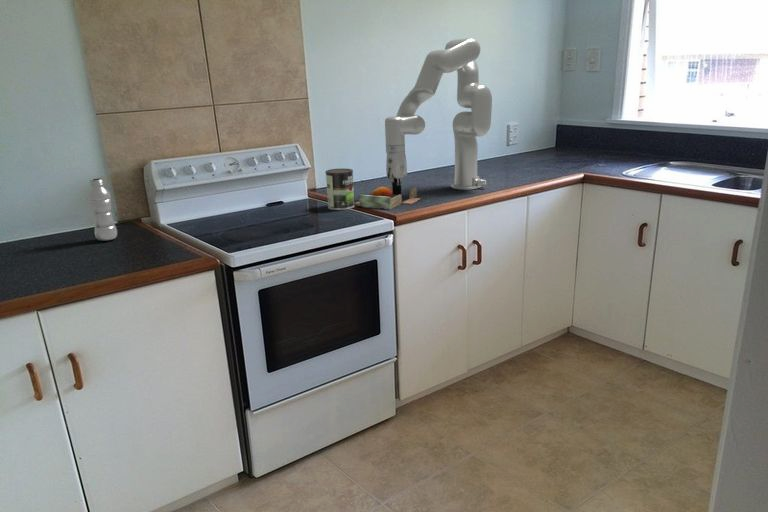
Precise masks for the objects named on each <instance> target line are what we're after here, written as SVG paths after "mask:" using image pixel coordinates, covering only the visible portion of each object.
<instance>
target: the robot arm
mask: <svg viewBox="0 0 768 512" xmlns="http://www.w3.org/2000/svg"><path fill="white" fill-rule="evenodd" d="M480 53H481V44H480V43H479V42H478V40H477V39H474V38H472V37H471V38H456V39H452V40H449V41H448V42H447V43H446V44H445V47H444V49H438V50H431V51H429V52H428V54H427V55H426V57H425V59H424V62H423V64H422V66H421V70H420V72H419V74H418V77H417V79H416V82H415V85H414V87H412V89H411V90H410V91H409V92H408V93H407V95H406V96H405V97H404V99H403V100H402V102H401V103H400V106H399V108H398V111H397V113H396V116H395V115H394V116H387V117H386V118H385V119H384V130H385V131H384V132H385V133H384V135H385V153H386V162H385V163H386V165H385V167H386V168H385V170H386V171H385V172H386V177H387V179H388V182H389V183H391V187H392V189H391V191H392V196H397V195H402V184H403V183H402V182H403V181H402V180H403V178H404V177H406V176H407V175H408V166H407V165H408V164H407V156H406V140H405V138H406V137H405V136H406V135H410V136H411V135H414V136H415V135H419V134H421V133H422V132H423V131H424V130H425V128H426V122H425V119H423V117H421V116H420V115H417V114H416V112H417V110H418V109H419V107H420V106H421V105H422V104H423V103H424V102H426V101H428V100H430V99H431V98H432V97H434V96H435V94H436V92H437V89H438V87H439V84H440V82H441V79H442V77H443V75H444V74H449V73H453V72H455V71H456V73H457V87H456V101H457V104H458V106H460V107H461V108H465V109H470V110H471V111H467V110H466V111H460V112H458V113H457V114H455V116H454V117H453V120H452V131H453V137H454V182H452V183H451V184H450V187H451V188H452V189H454V190H455V189H456V190H461V191H462V190H464V191H465V190H467V191H468V190H469V191H470V190H475V189H476V190H477V189H479V188H481V187H482V186H481V185H485V186H486V185H487V180H486V179H485V178H483V179H481V178H480V176H479V175H478V151H479V150H478V149H479V148H478V147H479V145H478V139H477V137H478V138H482V137H484V136H486V134H488V133H489V131H490V129H491V128H490V127H491V125H492V112H493V111H492V108H493V95H492V92H491V89H490V88H488V86H487V85H484V84H480V83H479V81H480V80H479V77H480V76H479V67H478V64H477V62H476V61H477V59H478V57H480Z"/></svg>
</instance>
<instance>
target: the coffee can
mask: <svg viewBox="0 0 768 512" xmlns="http://www.w3.org/2000/svg"><path fill="white" fill-rule="evenodd" d="M353 174H354V170H353V169H352V168H330V169H326V171H325V179H326V180H325V181H326V196H327V208H328V209H329V210H332V211H344V210H345V211H346V210H351V209H353V208H355V194H354V191H355V189H354V176H353Z"/></svg>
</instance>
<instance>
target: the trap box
mask: <svg viewBox="0 0 768 512" xmlns="http://www.w3.org/2000/svg"><path fill="white" fill-rule="evenodd" d="M385 187H387V188H389V189H391V187H392V185H387V186H385ZM391 190H392V189H391ZM408 192H409V195H408V196H409V198H408V199H410V198H417V196H418V187H412V188H411V189H409V191H408ZM358 199H359V201H360V205H359V207H360V206H364V207H363V208H369V207H373V208H372V209H380V208H384V209H383V210H392V209H393V208H395V207H397V206H400V205H402V202H403V201H402V200H403V198H402V194H401V195H394V196H392V198H391V197H385V196H372V195H371V194H359V197H358Z"/></svg>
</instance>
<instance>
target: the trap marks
mask: <svg viewBox="0 0 768 512" xmlns="http://www.w3.org/2000/svg"><path fill="white" fill-rule="evenodd" d="M420 199H421V200H422V198H420V197H414V198H410V199H409V198H408V199H406V200H404V201H402V204H404V205H412V204H415V203H417V202H418V200H419V201H421V200H420ZM359 204H360V200H359V201H357V202H354V205H359ZM402 204H401V205H402Z"/></svg>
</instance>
